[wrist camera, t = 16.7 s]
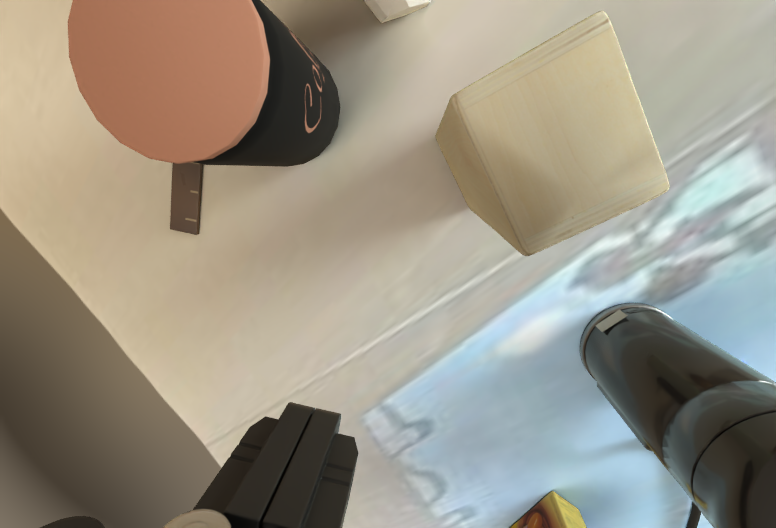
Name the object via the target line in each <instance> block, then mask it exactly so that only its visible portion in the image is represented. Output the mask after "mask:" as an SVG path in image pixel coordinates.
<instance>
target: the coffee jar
mask: <svg viewBox="0 0 776 528" xmlns="http://www.w3.org/2000/svg"><path fill="white" fill-rule="evenodd" d="M68 38H69V58H70V61H71V64H72V67H73V71H74V74H75V77H76V81H77V84H78V87H79V90H80V92H81V94H82V95H83V97H84V99H85V100H86V102H87V104H88V105H89V107H90V109H91V110H92V112H93V114H94V115H95V117H96V119H97V120H98V121H99V122H100V123H101V124H102V125H103V126H104V127H105V128H106V129H107V130H108V131H109V132H110V133H111V134H112V135H113V136H114V137H115V138H116V139H117V140H118V141H119V142H120V143H122V144H124V145H125V146H127V147H129V148H131V149H133V150H135V151H137V152H138V153H140V154H142V155H144V156H146V157H148V158H150V159H155V160H161V161H166V162H171V163H177V164H181V163H188V162H194V163H199V164H205V165H245V166H293V165H299V164H304V163H306V162H308V161H310V160H312V159H313V158H315V157H317V156H319V155H320V153H321V152H322V151H323V150H324V149H325V148H326V147H327V146H328V145H329V144H330V142H331V140H332V138H333V136H334V133H335V131H336V129H337V127H338V120H339V113H340V103H339V97H338V91H337V87H336V85H335V83H334V81H333V79H332V77H331V74H330V72H329V70H328V69H327V68H326V67H325V66H324V65H323V64H322V63H321V62H320V61H319V60H318V58H317V57H316V56H315V55H314V54H313V53H312V52H311V51H310V50H309V49H308V48H307V47H306V46H305V45H304V44H303V43H302V42H301V41H300V40H299V39H298V38H297V37H296V36H295V35H294V34H293V33H292V32H291V31H290V30H289V29H288V28H287V27H286V26H285V25H284V24H283V23H282V22H281V21H280V20H279V19H278V18H277V17H276V16H275V15H274V14H273V13H272V12H271V11H270V10H269V9H268V8H267V7H266V6H265V5H264V4H263V3H262V2H261V1H260V0H73V2H72V6H71V11H70V15H69V19H68Z"/></svg>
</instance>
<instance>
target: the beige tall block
mask: <svg viewBox="0 0 776 528" xmlns="http://www.w3.org/2000/svg"><path fill="white" fill-rule="evenodd" d="M435 137H436V140H437V142H438V144H439V146H440V148H441V150H442V153H443V155H444V157H445V159H446V161H447V163H448V165H449V167H450V169H451V171H452V173H453V176H454V178H455V180H456V182H457V184H458V186H459V188H460V190H461V192H462V194H463V196H464V198H465V201H466V203H467V205H468V206H469V208H470V209H471V210H472V211H473V212H474V213H475V214H477V215H478V216H479V217H480V218H481V219H482V220H483V221H485V222H486V223H487V224H488V225H489V226H491V227H492V228H493V229H494V230H495V231H496V232H497V233H498V234H500V235H501V236H502V237H503V238H504V239H505V240H506V241H507V242H509V243H510V244H511V245H512V246H513V247H514V248H515V249H516V250H517V251H519V252H520V253H521V254H522V255H525V256H530V255H532V254H535V253H537V252H540V251H542V250H544V249H546V248H548V247H550V246H553V245H555V244H557V243H559V242H561V241H564V240H566V239H568V238H570V237H572V236H574V235H576V234H579V233H581V232H583V231H585V230H587V229H590V228H592V227H594V226H596V225H598V224H600V223H603V222H605V221H607V220H609V219H611V218H613V217H616V216H618V215H620V214H622V213H624V212H626V211H629V210H631V209H633V208H635V207H637V206H639V205H642V204H644V203H646V202H648V201H650V200H652V199H654V198H656V197H658V196H660V195H662V194H663V193H665V192H667V191H668V190H669V181H668V177H667V174H666V171H665V168H664V166H663V163H662V160H661V158H660V155H659V152H658V149H657V147H656V144H655V141H654V139H653V136H652V133H651V130H650V128H649V125H648V122H647V119H646V117H645V114H644V111H643V109H642V106H641V103H640V100H639V98H638V95H637V92H636V90H635V87H634V84H633V81H632V79H631V76H630V73H629V70H628V68H627V65H626V62H625V59H624V56H623V54H622V51H621V48H620V45H619V43H618V40H617V37H616V34H615V32H614V29H613V26H612V24H611V22H610V19H609V17H608V15H607V14H606V13H605V12H604V11H599V12H597V13H595V14H593V15H591V16H589V17H588V18H586V19H584V20H582V21H581V22H579V23H577V24H575V25H574V26H572V27H570V28H568V29H567V30H565V31H563V32H561V33H560V34H558V35H556V36H554V37H553V38H551V39H549V40H547V41H546V42H544V43H542V44H540V45H539V46H537V47H535V48H533V49H532V50H530V51H528V52H527V53H525V54H523V55H521V56H520V57H518V58H516V59H514V60H513V61H511V62H509V63H507V64H506V65H504V66H502V67H500V68H499V69H497V70H495V71H493V72H492V73H490V74H488V75H486V76H485V77H483V78H481V79H479V80H478V81H476V82H474V83H473V84H471V85H469V86H467V87H466V88H464V89H462V90H461V91H459V92H457V93H456V94H454V95H452V97H451V99H450V100H449V103H448V106H447V108H446V111H445V113H444V116H443V118H442V121H441V123H440V125H439V128H438V130H437V133H436V135H435Z"/></svg>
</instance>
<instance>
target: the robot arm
mask: <svg viewBox="0 0 776 528" xmlns="http://www.w3.org/2000/svg"><path fill="white" fill-rule="evenodd" d="M580 356H581V360H582V363H583V365H584V367H585V368H586V370H587V371H588V372H589V373H590V375H591V376H592V377H593V378H594V379H595V380H596V381H597V387H598V388H599V389H600V391H601V392H602V393H603V395H604V396H605V397H606V398H607V400H608V401H609V402H610V404H611V405H612V406H613V407H614V409H615V410H616V411H617V413H618V414H619V415H620V416H621V418H622V419H623V420H624V422H625V423H626V424H627V425H628V427H629V428H630V429H631V431H632V432H633V433H634V434H635V436H636V437H637V438H638V440H639V441H640V442H641V443H642V445H643V446H644V447H645V448H646V449H648V450H649V451H653V452H654V454H655V455H656V456H657V457H658V459H659V460H660V461H661V462H662V464H663V465H664V466H665V467H666V469H667V470H668V471H669V472H670V474H671V475H672V476H673V477H674V478H675V479H676V481H677V482H678V483H679V484H680V486H681V487H682V488H683V490H684V491H685V492H686V493H687V495H688V496H689V497H690V498H691V500H692V501H693V503H692V510H691V514H690V517H689V521H688V524H687V527H686V528H697V525H698V522H699V519H700V515H701V512H702V514H703V515H704V516H705V518H706V519H707V520H708V521H709V523H710V524H711V525H712V526H713V528H776V382H774V381H773V380H771V379H770V378H768V377H766V376H765V375H763V374H761V373H760V372H758V371H756V370H755V369H753V368H752V367H750V366H748V365H747V364H745V363H743V362H742V361H740V360H739V359H737V358H735V357H734V356H732V355H730V354H729V353H727V352H726V351H724V350H722V349H721V348H719V347H717V346H716V345H714V344H712V343H711V342H709V341H708V340H706V339H704V338H703V337H701V336H699V335H698V334H696V333H695V332H693V331H691V330H690V329H688V328H686V327H685V326H683V325H682V324H680V323H678V322H677V321H675V320H673V319H672V318H671V317H670V316H669V315H667V314H666V313H664V312H663V311H661V310H659V309H657V308H655V307H653V306H650V305H647V304H642V303H625V304H620V305H616V306H613V307H611V308H608V309H606V310H605V311H603V312H601V313H600V314H599V315H597V316H596V317H595V318H594V319H593V320H592V321H591V322H590V323H589V324H588V326H587V327H586V329H585V331H584V333H583V335H582V338H581V342H580ZM340 420H341V414H339V413H335V412H330V411H326V410H322V409H318V408H316V409H315V408H313V407H309V406H304V405H300V404H296V403H291V402H290V403H288V405H287V406H286V408H285V410H284V411H283V413H282V415H281V416H280V418H279V420H278V419H274V418H269V417H264V418H263V419H261V420H260V421H258V422H257V423H255V424H254V425H252V426H251V427H250V428H249V429H248V431H247V432H246V434H245V435H244V436H243V438H242V439H241V441H240V443H239V445H237V447H236V448H235V450H234V451H233V452H232V454H231V457H230V458H228V460H227V461H226V463H225V464H224V465H223V467H222V468H221V470H220V471H219V473H218V474H217V476H216V477H215V479H214V480H213V482H212V483H211V485H210V486H209V487H208V489H207V490H206V492H205V493H204V495H203V496H202V497H201V499H200V500H199V502H198V503H197V505H196V507H194V509H193V510H192V511H189V512H186V513H183V514H181V515H179V516H177V517H176V518H174V519H173V520H171V521H170V522H169V523H167V524H166V525H165V526H164V527H163V528H342V526H343V521H344V517H345V513H346V509H347V505H348V500H349V496H350V491H351V486H352V481H353V476H354V471H355V467H356V462H357V457H358V450H357V446H356V442H355V438H354V437H350V436H346V435H342V434H338V431H339V426H340ZM41 528H104V526H103V524H102V523H101V522H100V521H98V520H97V519H95V518H91V517H86V516H75V517H69V518H65V519H61V520H58V521H55V522H52V523H50V524H48V525H45V526H43V527H41Z"/></svg>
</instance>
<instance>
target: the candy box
mask: <svg viewBox="0 0 776 528" xmlns="http://www.w3.org/2000/svg"><path fill="white" fill-rule="evenodd" d="M510 528H587V527H586V525H585V523H584V521H583V519H582V516H581V514H580V512H579V510H578V508H576V507H575V506H573V505H572V504H570V503H569V502H568V501H566V500H565V499H563V498H562V497H561V496H559V495H558V494H557V493H555V492H554V491H551V492H550V493H549V494H548V495H547V496H545V497H544V498H543V499H542V500H541V501H540V502H538V504H537V505H536V506H534V507H533V508H532V509H531V510H530V511H528V512H527V513H526V514H525V515H524V516H523V517H522V518H521V519H520V520H519V521H517V522H516V523H515V524H514V525H513V526H512V527H510Z"/></svg>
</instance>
